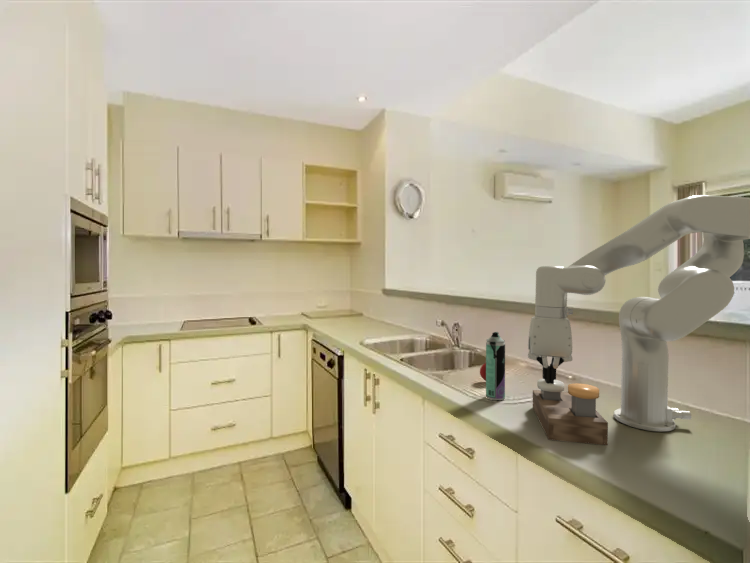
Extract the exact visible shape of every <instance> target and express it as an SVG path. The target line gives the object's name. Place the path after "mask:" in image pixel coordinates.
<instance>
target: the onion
mask: <svg viewBox="0 0 750 563" xmlns="http://www.w3.org/2000/svg"><path fill="white" fill-rule="evenodd" d="M479 375H480V377H481V378H482V379H483V380H484V382H486V362H485V363H483V364H482V365H481V367H480V369H479Z"/></svg>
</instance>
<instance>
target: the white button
mask: <svg viewBox="0 0 750 563" xmlns="http://www.w3.org/2000/svg"><path fill="white" fill-rule="evenodd" d="M536 387H537V388H538V389H539V390H540V391H541V398H542V400H556V401H561V392H565V383H564V382H563V381H561V380H559V379H556V380H554V384H551V383H546V381H545V379H543V378H539V379H537V380H536Z"/></svg>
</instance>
